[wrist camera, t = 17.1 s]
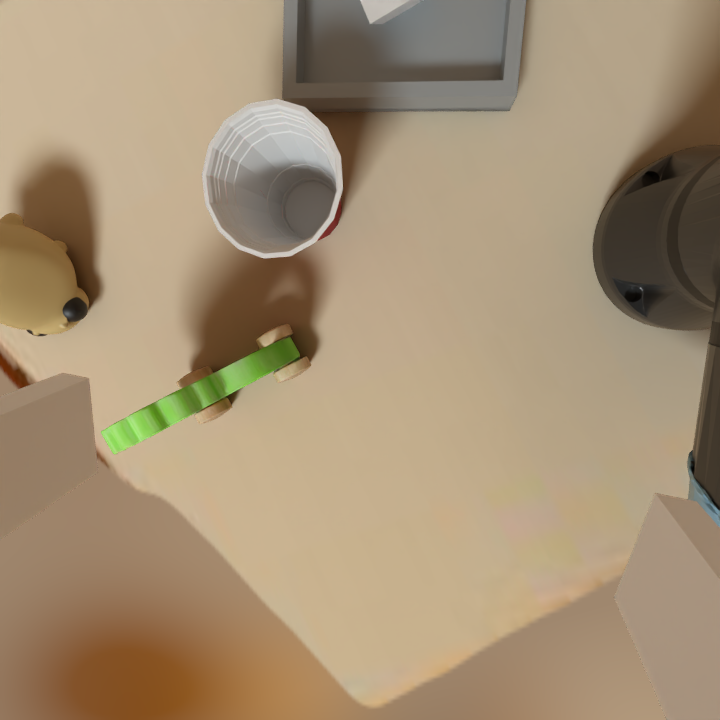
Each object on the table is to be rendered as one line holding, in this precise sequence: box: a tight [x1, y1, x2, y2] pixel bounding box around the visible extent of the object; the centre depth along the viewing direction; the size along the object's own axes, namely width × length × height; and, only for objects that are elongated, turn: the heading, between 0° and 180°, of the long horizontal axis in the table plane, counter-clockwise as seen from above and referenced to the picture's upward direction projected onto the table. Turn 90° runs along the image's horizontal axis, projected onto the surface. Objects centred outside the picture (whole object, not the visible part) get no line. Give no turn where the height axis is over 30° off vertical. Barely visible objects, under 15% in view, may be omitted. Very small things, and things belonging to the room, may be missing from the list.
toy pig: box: [0, 213, 89, 336], centre depth 43 cm, size 10×12×11 cm
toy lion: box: [101, 324, 311, 454], centre depth 38 cm, size 16×6×15 cm, turn 118°
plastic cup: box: [202, 99, 343, 258], centre depth 36 cm, size 11×11×12 cm
